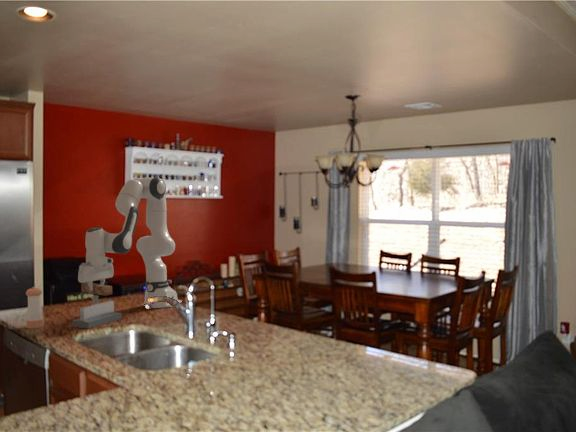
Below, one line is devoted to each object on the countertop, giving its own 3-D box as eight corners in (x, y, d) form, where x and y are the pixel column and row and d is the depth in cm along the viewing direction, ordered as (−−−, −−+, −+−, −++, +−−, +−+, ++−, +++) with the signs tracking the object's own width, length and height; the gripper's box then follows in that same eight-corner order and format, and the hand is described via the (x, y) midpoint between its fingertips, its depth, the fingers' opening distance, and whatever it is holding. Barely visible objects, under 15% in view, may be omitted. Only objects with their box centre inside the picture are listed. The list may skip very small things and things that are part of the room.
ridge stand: (106, 317, 281) (105, 299, 281) (121, 318, 277) (121, 300, 277) (72, 327, 262) (72, 308, 261) (88, 328, 257) (88, 309, 257)
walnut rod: (112, 294, 264) (112, 286, 264) (105, 295, 261) (104, 287, 261) (88, 290, 277) (88, 282, 276) (81, 291, 273) (81, 283, 273)
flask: (93, 317, 282) (93, 297, 282) (85, 315, 286) (84, 296, 286) (106, 314, 288) (105, 295, 287) (97, 313, 292) (97, 294, 292)
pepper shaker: (46, 324, 267) (44, 285, 266) (38, 328, 260) (36, 288, 259) (32, 324, 268) (30, 285, 267) (23, 328, 261) (21, 288, 260)
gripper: (84, 263, 257) (85, 293, 258) (115, 258, 276) (116, 286, 276) (74, 263, 260) (75, 292, 261) (105, 258, 279) (106, 285, 279)
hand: (96, 289), depth 269 cm, fingers closed on walnut rod, 4 cm apart
